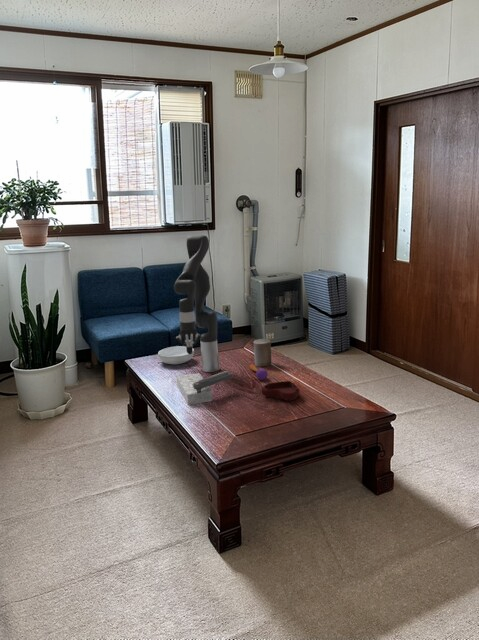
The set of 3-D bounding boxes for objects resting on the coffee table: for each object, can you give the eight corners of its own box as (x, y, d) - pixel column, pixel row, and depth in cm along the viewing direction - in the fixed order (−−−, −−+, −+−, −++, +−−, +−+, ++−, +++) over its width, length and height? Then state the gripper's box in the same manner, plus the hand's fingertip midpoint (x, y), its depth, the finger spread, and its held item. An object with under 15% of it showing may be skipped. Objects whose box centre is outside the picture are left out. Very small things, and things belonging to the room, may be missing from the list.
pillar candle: (274, 362, 318) (273, 337, 315) (266, 367, 310) (265, 341, 307) (260, 360, 323) (258, 335, 320) (251, 365, 315) (250, 340, 312)
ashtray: (307, 392, 272) (306, 383, 271) (292, 404, 258) (292, 394, 257) (274, 387, 281) (274, 378, 280) (258, 398, 267) (258, 388, 266)
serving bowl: (184, 354, 342) (184, 343, 340) (200, 362, 324) (200, 351, 323) (153, 361, 331) (152, 350, 330) (168, 370, 314) (167, 358, 312)
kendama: (258, 362, 309) (269, 370, 290) (256, 372, 309) (268, 381, 290) (247, 361, 307) (258, 369, 288) (246, 372, 308) (257, 381, 289)
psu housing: (199, 382, 293) (198, 369, 291) (212, 400, 267) (211, 387, 265) (177, 385, 290) (176, 373, 288) (188, 404, 264) (187, 391, 262)
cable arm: (232, 377, 277) (232, 371, 276) (197, 390, 262) (197, 383, 261) (225, 375, 280) (225, 369, 280) (191, 387, 265) (190, 381, 265)
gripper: (198, 316, 279) (201, 350, 284) (172, 319, 276) (175, 353, 280) (202, 320, 272) (204, 354, 277) (175, 323, 269) (178, 357, 273)
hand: (189, 353), depth 278 cm, fingers closed
